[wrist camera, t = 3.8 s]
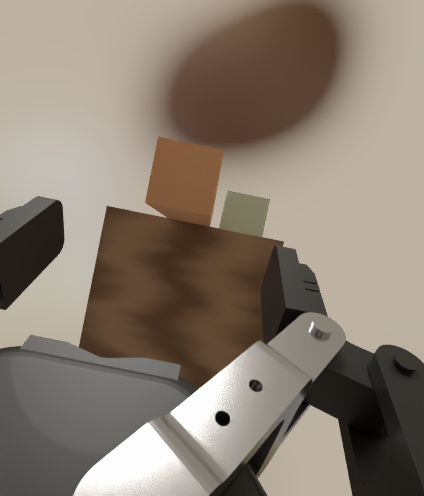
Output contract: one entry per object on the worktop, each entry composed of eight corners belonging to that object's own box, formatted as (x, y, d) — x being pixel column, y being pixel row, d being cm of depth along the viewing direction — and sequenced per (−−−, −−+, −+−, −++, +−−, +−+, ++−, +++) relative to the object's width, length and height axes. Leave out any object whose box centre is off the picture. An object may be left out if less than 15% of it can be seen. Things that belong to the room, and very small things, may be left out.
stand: (20, 639, 24) (106, 205, 24) (86, 500, 37) (142, 219, 37) (196, 670, 24) (283, 241, 24) (200, 522, 37) (256, 242, 37)
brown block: (145, 202, 15) (158, 136, 15) (182, 227, 37) (187, 201, 37) (210, 215, 15) (224, 150, 15) (208, 233, 37) (213, 206, 37)
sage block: (219, 232, 31) (227, 190, 31) (217, 234, 35) (225, 197, 35) (261, 241, 31) (269, 199, 31) (255, 241, 35) (262, 204, 35)
